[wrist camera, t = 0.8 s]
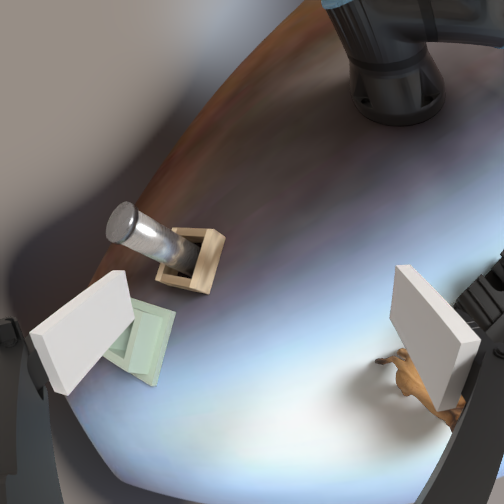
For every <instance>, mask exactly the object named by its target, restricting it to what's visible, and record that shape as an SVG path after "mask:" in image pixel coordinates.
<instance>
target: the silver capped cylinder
mask: <svg viewBox="0 0 504 504" xmlns="http://www.w3.org/2000/svg"><path fill="white" fill-rule="evenodd" d="M106 237H107V239H108V240H109V241H111V242H113V243H115V244H123V245H125V246H127V247H129V248H131V249H133V250H135V251H137V252H139V253H141V254H143V255H145V256H147V257H149V258H151V259H153V260H156V261H158V262H160V263H162V264H164V265H166V266H168V267H170V268H172V269H175V270H177V271H179V272H181V273H183V274H185V275H188V276H190V277H192V276H193V273H194V270H195V266H196V263H197V260H198V256H199V253H200V250H201V248H200V247H199V246H197V245H195V244H194V243H192V242H190V241H188V240H187V239H185V238H183V237H182V236H180V235H178V234H177V233H175V232H173V231H172V230H170V229H168V228H167V227H165V226H163V225H162V224H160V223H158V222H157V221H155V220H153V219H152V218H150V217H148V216H147V215H145V214H143V213H142V212H140V211H138V208H137V207H136V206H135V205H133V204H132V203H130V202H123V203H121V204H120V205H119V206H118V207H117V208H116V209H115V210H114V211H113V213H112V215H111V216H110V219H109V221H108V223H107V228H106Z"/></svg>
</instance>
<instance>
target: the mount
mask: <svg viewBox="0 0 504 504" xmlns="http://www.w3.org/2000/svg"><path fill="white" fill-rule="evenodd" d="M172 231H173V232H175V233H177V234H178V235H180V236H182V237H183V238H185V239H187V240H188V241H190V242H192V243H203V244H202V247H201V250H200V253H199V256H198V260H197V263H196V266H195V270H194V273H193V276H192V279H189V278H184V277H178V276H177V274H178V271H177V270H175V269H172V268H170V267H168V266H166V265H164V264H162V263H160V266H159V269H158V272H157V276H156V279H155V280H156V281H159V282H161V283H164V284H166V285H169V286H173V287H177V288H182V289H186V290H191V291H196V292H200V293H205V294H209V293H210V290H211V286H212V283H213V279H214V276H215V272H216V269H217V266H218V262H219V259H220V255H221V252H222V249H223V245H224V242H225V238H226V237H225V236H223V235H222V234H220V233H219V232H217V231H216V230H214V229H201V228H172Z"/></svg>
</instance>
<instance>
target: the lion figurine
mask: <svg viewBox="0 0 504 504" xmlns="http://www.w3.org/2000/svg"><path fill="white" fill-rule="evenodd" d="M397 355H398V356H399V357H400V358H401V359H403V360H405V361H403V360H401V359H399V358H398V357H396V356H391V357H389V358H386V359H383V358H381V359H379V358H378V359H376V360H375V363H378V364H381V365H384V364H387V363H390V362H393V363H394V364H395V365H396V367H397V368H398V370H397V372H396V384H397V386H398V387H399V388H400V389H401V391H402V393H403V395H404V396H409V395H413V396H415V397H416V398H417V399H418V400H419V401H420V402H421V403H422V404H423V405H424V406H425V407H426V408H427V409H428V410H429V411H430V412H431V413H432V414H434V415H435V416H437V417H438V418H440V419H442V420H444V421H446V424H447V425H448V426H450V429H451V431H452V433H453V431H454V428H455V426H456V425H455V424H456V422H457V420H458V418H459V416H460V414H461V412H462V409H463V407H464V405H465V403H466V402H465V400H464V398H463V396H462V394H461V397H460V399H459V401H458V404H457V406H456V408H453V409H449V410H444V411H439V412H437V411H436V409H435V407H434V405H433V403H432V400H431V398H430V396H429V394H428V392H427V390H426V388H425V386H424V384H423V382H422V380H421V377H420V375H419V373H418V371H417V369H416V367H415V365H414V363H413V362H412V360H411V358H410V356H409V354H408V352H407V350H406V349H404V348H401V349H399V350H398V351H397Z"/></svg>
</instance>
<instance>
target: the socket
mask: <svg viewBox="0 0 504 504" xmlns="http://www.w3.org/2000/svg"><path fill="white" fill-rule="evenodd" d="M130 299H131V303H132V308H133V312H134V316H135V319H134V320H133V321H132V322H131V324H130V325H129V326H128V327H127V328H126V329H125V330H124V331H123V333H122V334H121V335H120V336H119V337H118V338H117V339H116V340H115V342H114V343H113V344H112V345H111V346H110V347H109V348H108V350H107V351H106V352H105V353H104V354H103V355H102V356H103V357H105V358H106V359H108V360H109V361H111V362H112V363H114V364H115V365H117V366H119V367H120V368H122V369H123V370H125V371H126V372H129V373H130V374H132V375H134V376H135V377H137V378H138V379H140V380H142V381H143V382H145V383H147V384H149V385H150V386H157V382H158V378H159V374H160V370H161V366H162V362H163V358H164V355H165V351H166V347H167V343H168V340H169V336H170V332H171V329H172V325H173V322H174V318H175V314H176V312H174V311H171V310H168V309H164V308H161V307H158V306H155V305H152V304H149V303H145V302H142V301H139V300H136V299H133V298H130Z"/></svg>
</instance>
